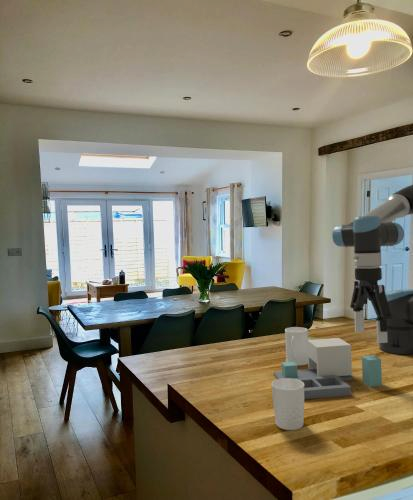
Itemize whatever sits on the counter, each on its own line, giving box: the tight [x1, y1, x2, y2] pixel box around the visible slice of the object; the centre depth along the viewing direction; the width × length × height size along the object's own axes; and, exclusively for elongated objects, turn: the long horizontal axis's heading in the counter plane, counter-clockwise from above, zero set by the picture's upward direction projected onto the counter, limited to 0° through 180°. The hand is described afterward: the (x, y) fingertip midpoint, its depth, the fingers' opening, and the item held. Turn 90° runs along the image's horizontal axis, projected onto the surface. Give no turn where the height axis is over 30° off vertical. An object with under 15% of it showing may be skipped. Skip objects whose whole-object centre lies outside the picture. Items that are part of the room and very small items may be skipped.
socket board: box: [292, 375, 352, 400], centre depth 116 cm, size 16×10×2 cm, turn 95°
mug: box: [284, 326, 309, 367], centre depth 142 cm, size 12×8×12 cm
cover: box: [307, 337, 353, 376], centre depth 127 cm, size 11×9×10 cm
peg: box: [361, 355, 383, 388], centre depth 119 cm, size 4×4×8 cm
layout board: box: [273, 361, 355, 382], centre depth 127 cm, size 23×10×5 cm, turn 95°
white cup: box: [271, 378, 305, 431], centre depth 96 cm, size 8×8×10 cm
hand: (370, 336), depth 119 cm, fingers open, 13 cm apart
